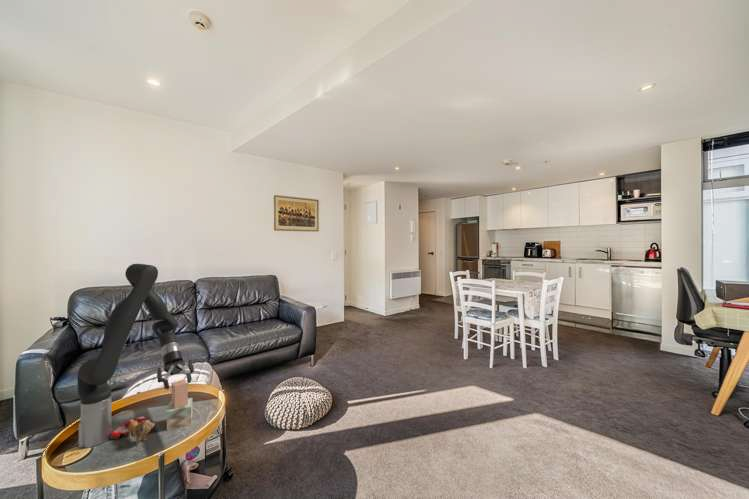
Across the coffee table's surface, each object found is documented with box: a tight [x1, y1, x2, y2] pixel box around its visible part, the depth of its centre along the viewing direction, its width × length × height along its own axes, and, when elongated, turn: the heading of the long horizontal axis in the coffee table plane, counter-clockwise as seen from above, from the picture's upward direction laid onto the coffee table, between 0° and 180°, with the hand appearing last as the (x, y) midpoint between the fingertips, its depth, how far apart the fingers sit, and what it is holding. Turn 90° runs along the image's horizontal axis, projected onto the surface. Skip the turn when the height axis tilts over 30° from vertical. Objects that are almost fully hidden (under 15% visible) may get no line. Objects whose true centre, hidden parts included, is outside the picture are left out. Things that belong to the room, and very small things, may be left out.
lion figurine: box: [124, 419, 156, 446], centre depth 122 cm, size 15×5×9 cm, turn 72°
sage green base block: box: [166, 397, 193, 431], centre depth 135 cm, size 9×9×8 cm
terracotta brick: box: [171, 379, 189, 409], centre depth 134 cm, size 5×5×10 cm
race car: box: [110, 416, 148, 440], centre depth 128 cm, size 13×5×4 cm, turn 158°
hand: (179, 385), depth 135 cm, fingers open, 8 cm apart
